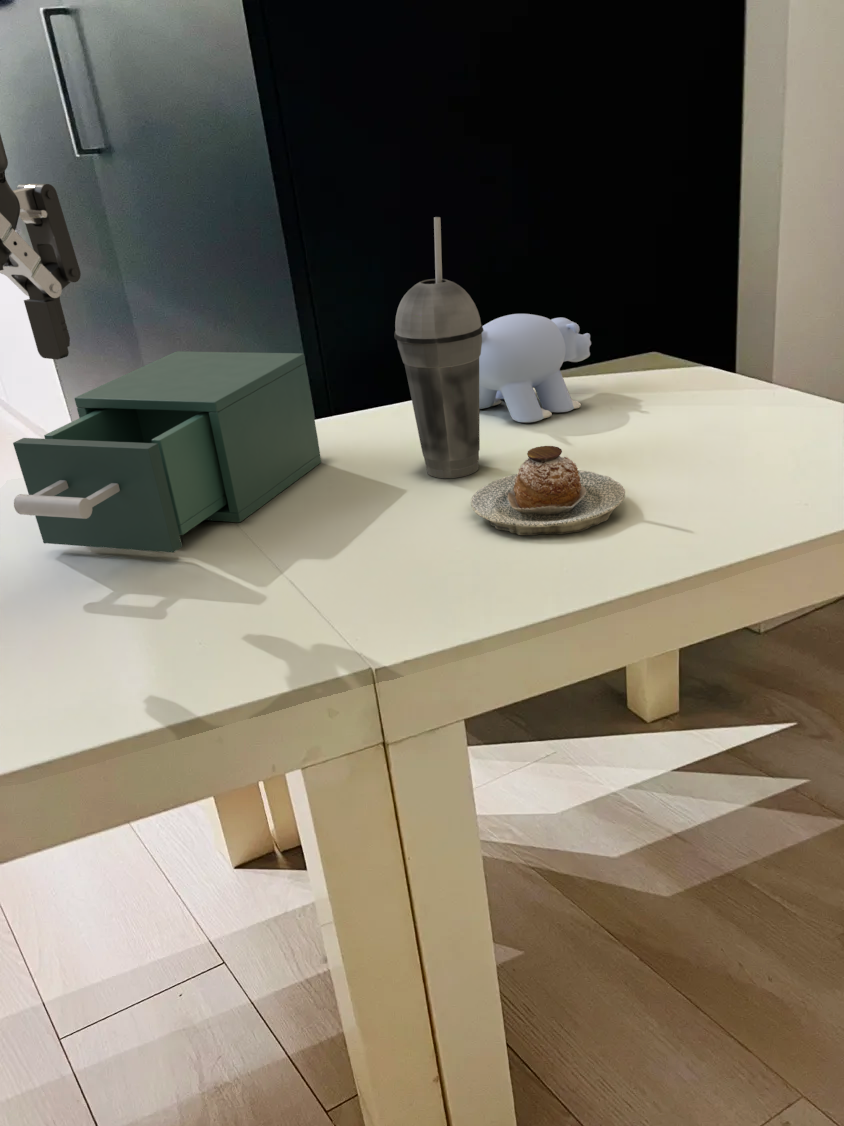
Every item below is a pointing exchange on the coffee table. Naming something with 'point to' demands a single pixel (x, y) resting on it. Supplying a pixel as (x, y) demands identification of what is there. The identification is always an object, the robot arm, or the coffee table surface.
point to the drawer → (122, 479)
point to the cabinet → (231, 416)
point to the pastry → (548, 496)
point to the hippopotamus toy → (529, 364)
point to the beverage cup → (442, 369)
